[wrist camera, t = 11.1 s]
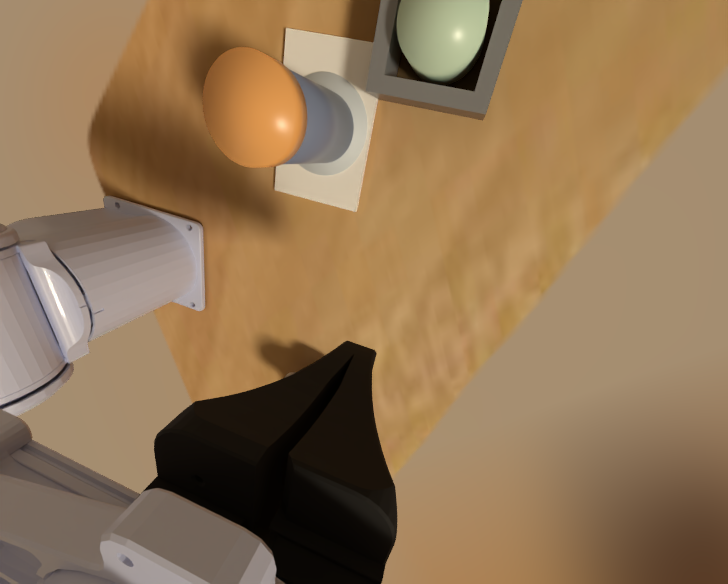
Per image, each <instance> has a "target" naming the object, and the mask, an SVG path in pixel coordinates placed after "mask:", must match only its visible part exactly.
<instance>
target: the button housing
mask: <svg viewBox="0 0 728 584" xmlns="http://www.w3.org/2000/svg"><path fill="white" fill-rule="evenodd" d="M522 1H523V0H502V2H501V5H500V9H499V12H498V15H497V19H496V22H495V25H494V29H493V32H492V35H491V39H490V42H489V45H488V48H487V52H486V55H485V58H484V62H483V65H482V68H481V72H480V75H479V78H478V82H477V85H476V88H475V92H474V91H469V90H464V89H458V88H453V87H447V86H442V85H436V84H431V83H426V82H420V81H415V80H409V79H404V78H399V77H397V72H398V67H399V62H400V58H401V53H402V49H401V47H400V44H399V41H398V36H397V15H398V9H399V5H400V2H401V0H381V2H380V8H379V14H378V20H377V26H376V32H375V38H374V43H373V49H372V55H371V61H370V67H369V73H368V79H367V84H366V90H365V91H366V92H368V93H369V94H371V95H372V96H374V97H375V98H377V99H379V100H384V101H389V102H394V103H399V104H404V105H409V106H414V107H419V108H424V109H429V110H434V111H439V112H444V113H449V114H454V115H459V116H464V117H469V118H474V119H479V120H483V119H484V117H485V115H486V112H487V109H488V106H489V102H490V99H491V96H492V93H493V90H494V87H495V84H496V81H497V78H498V75H499V72H500V69H501V65H502V62H503V59H504V56H505V53H506V50H507V47H508V44H509V41H510V38H511V35H512V31H513V28H514V25H515V22H516V19H517V16H518V13H519V10H520V7H521V4H522Z"/></svg>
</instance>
